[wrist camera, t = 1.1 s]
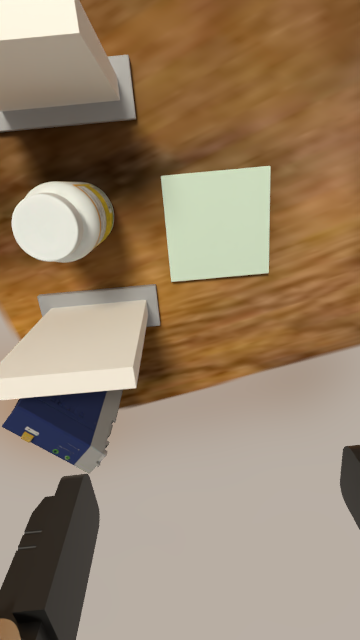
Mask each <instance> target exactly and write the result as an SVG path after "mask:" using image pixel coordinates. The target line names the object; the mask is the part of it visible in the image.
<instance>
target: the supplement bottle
mask: <svg viewBox="0 0 360 640" xmlns="http://www.w3.org/2000/svg"><path fill="white" fill-rule="evenodd" d="M113 224H114V211H113V207H112V204H111V202H110V200H109V199H108V197H107V196H106V194H105V193H104V192H103V191H102V190H100V189H99V188H98V187H96V186H94V185H92V184H89V183H86V182H61V181H54V182H47V183H43V184H40V185H38V186H36V187H35V188H33V189H32V190H31V191H30V192H29V193H28V194H27V195H26V197H25V198H24V199H23V200H22V201H21V202H19V204H18V205H17V206H16V208H15V210H14V212H13V216H12V230H13V234H14V236H15V239H16V241H17V243H18V244H19V245H20V247H21V248H22V249H23V250H24V251H25V252H26V253H27V254H29V255H30V256H32V257H34V258H36V259H39V260H42V261H56V262H72V261H76V260H78V259H81V258H83V257H84V256H86V255H87V254H88V253H90V252H91V251H92V250H93V249H94V248H95V247H97V246H98V245H99V244H100V243H101V242H102V241H104V240H105V239H106V238H107V237H108V235H109V234H110V233H111V230H112V228H113Z"/></svg>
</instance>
